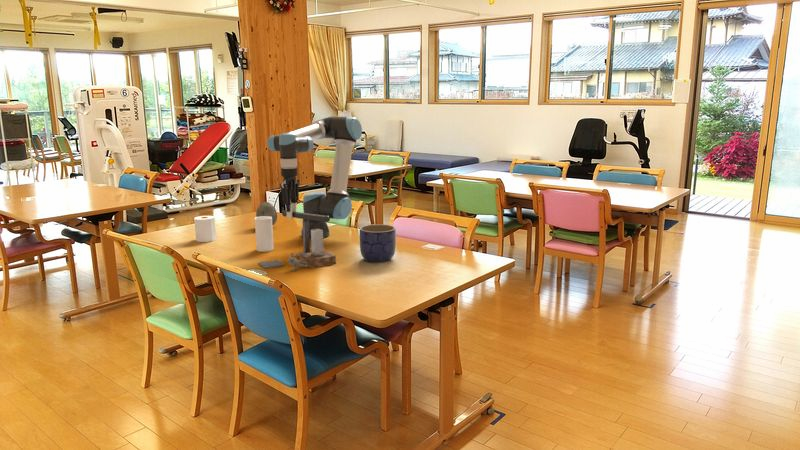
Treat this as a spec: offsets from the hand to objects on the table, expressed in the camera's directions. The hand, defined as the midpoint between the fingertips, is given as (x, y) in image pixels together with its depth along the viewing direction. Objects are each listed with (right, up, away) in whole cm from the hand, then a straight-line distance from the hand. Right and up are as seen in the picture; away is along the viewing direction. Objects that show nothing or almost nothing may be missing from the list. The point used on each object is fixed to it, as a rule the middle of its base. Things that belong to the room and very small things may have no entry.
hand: (291, 217), depth 265 cm
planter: (+41, -20, -5) cm, 45 cm away
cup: (-16, -16, +13) cm, 26 cm away
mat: (-7, -21, -13) cm, 26 cm away
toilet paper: (-51, -12, +32) cm, 62 cm away
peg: (+14, -20, -9) cm, 26 cm away
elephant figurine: (+5, -23, -18) cm, 30 cm away
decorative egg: (-26, -5, +60) cm, 66 cm away
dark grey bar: (+7, -2, -3) cm, 8 cm away
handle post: (+7, -18, +1) cm, 20 cm away
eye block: (+14, -20, -9) cm, 26 cm away
